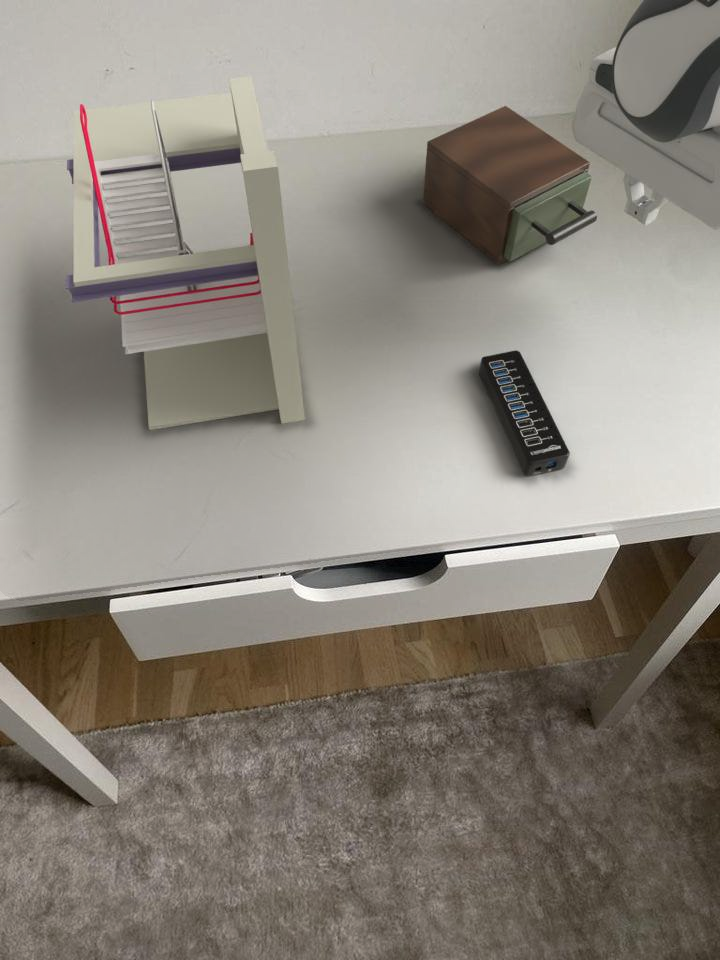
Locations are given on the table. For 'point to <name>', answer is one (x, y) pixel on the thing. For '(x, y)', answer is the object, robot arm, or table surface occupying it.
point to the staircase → (188, 258)
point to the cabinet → (493, 175)
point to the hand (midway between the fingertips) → (639, 216)
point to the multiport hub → (523, 413)
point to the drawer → (549, 217)
